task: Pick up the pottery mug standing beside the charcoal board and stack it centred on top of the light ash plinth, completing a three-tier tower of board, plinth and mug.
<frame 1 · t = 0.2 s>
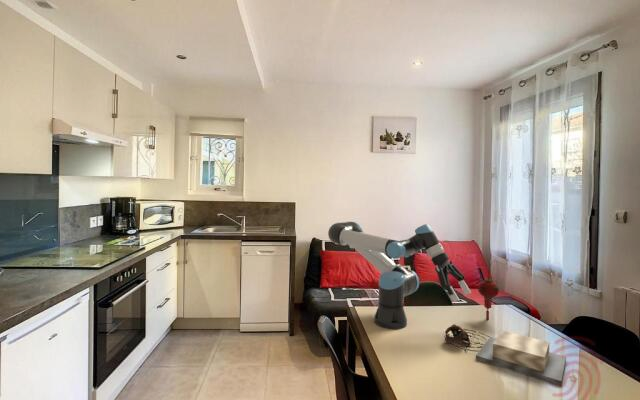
hand: (462, 297, 151), 15 cm above the table, tool tilted 35°, fingers open, 13 cm apart
build base: (520, 360, 126), on the table
pottery mug: (457, 343, 140), on the table
lantern: (487, 319, 167), on the table
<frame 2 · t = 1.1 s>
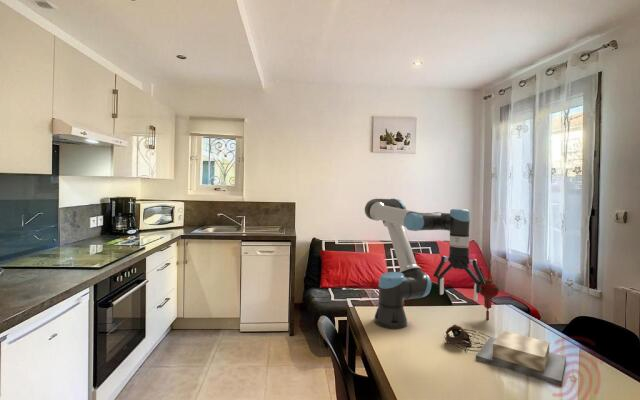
hand: (458, 297, 140), 19 cm above the table, tool pointing down, fingers open, 13 cm apart
nothing on the table moved.
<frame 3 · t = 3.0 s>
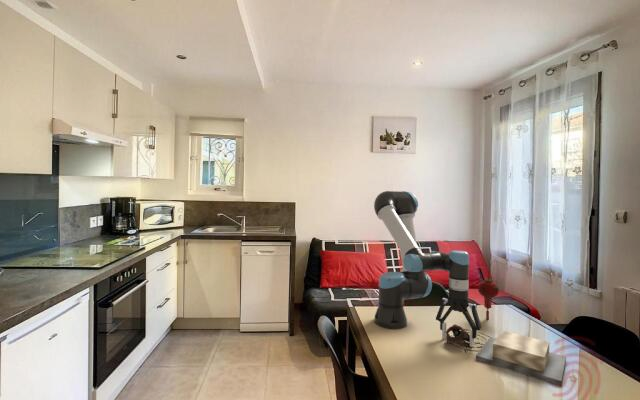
hand: (457, 341, 139), 1 cm above the table, tool pointing down, fingers open, 10 cm apart
nothing on the table moved.
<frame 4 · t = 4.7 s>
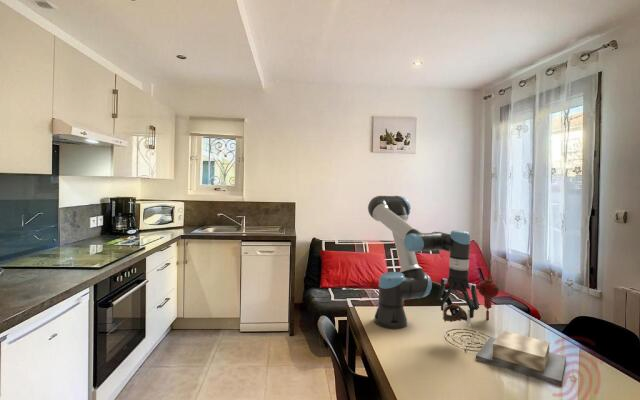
hand: (456, 321, 140), 9 cm above the table, tool pointing down, fingers closed on pottery mug, 9 cm apart
pottery mug: (455, 322, 141), point 8 cm above the table, touching gripper
everything else where it was.
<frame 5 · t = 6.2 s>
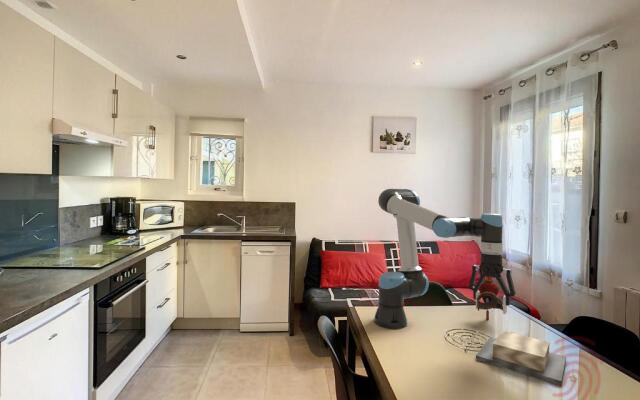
hand: (491, 310, 132), 16 cm above the table, tool pointing down, fingers closed on pottery mug, 9 cm apart
pottery mug: (489, 311, 132), point 16 cm above the table, touching gripper
everything else where it was.
when the fingers open (8 cm above the table, at t = 9.2 s): pottery mug drops 1 cm, resting on build base.
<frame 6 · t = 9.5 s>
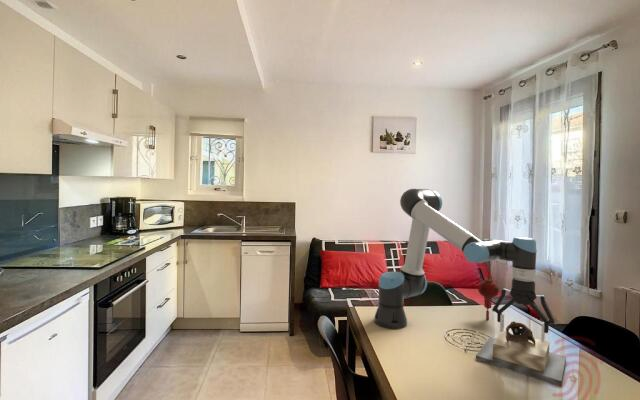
hand: (521, 335, 126), 9 cm above the table, tool pointing down, fingers open, 13 cm apart
pottery mug: (519, 342, 126), point 6 cm above the table, touching build base
everything else where it was.
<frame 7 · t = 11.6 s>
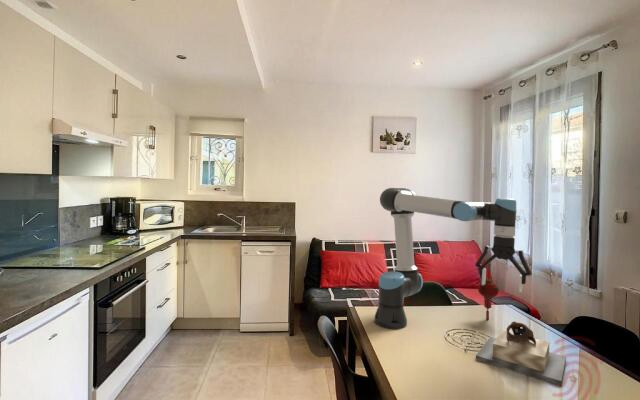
hand: (501, 288, 137), 24 cm above the table, tool pointing down, fingers open, 13 cm apart
nothing on the table moved.
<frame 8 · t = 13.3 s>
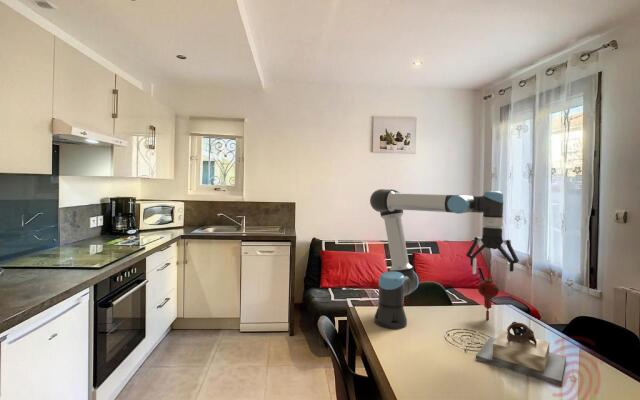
hand: (491, 276, 145), 27 cm above the table, tool pointing down, fingers open, 13 cm apart
nothing on the table moved.
at the end: pottery mug inside the target area on the build base (0.6 cm from its centre), point 6.3 cm above the build base's base; pottery mug tilted 1°; the gripper is holding nothing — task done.
